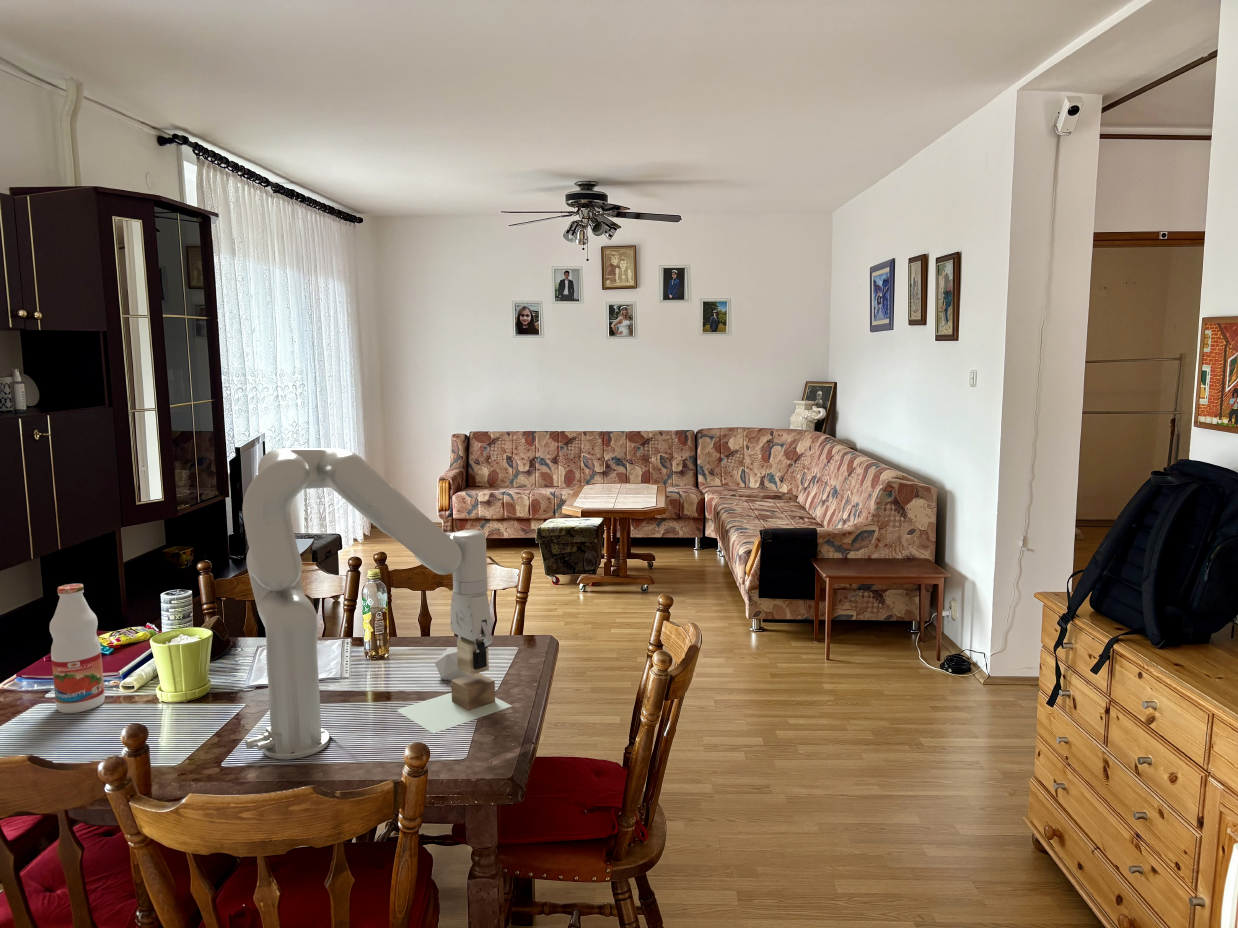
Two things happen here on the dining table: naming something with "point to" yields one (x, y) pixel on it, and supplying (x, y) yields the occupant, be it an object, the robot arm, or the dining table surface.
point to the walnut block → (473, 691)
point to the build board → (446, 712)
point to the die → (449, 665)
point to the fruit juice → (76, 653)
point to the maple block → (468, 657)
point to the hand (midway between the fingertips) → (473, 663)
